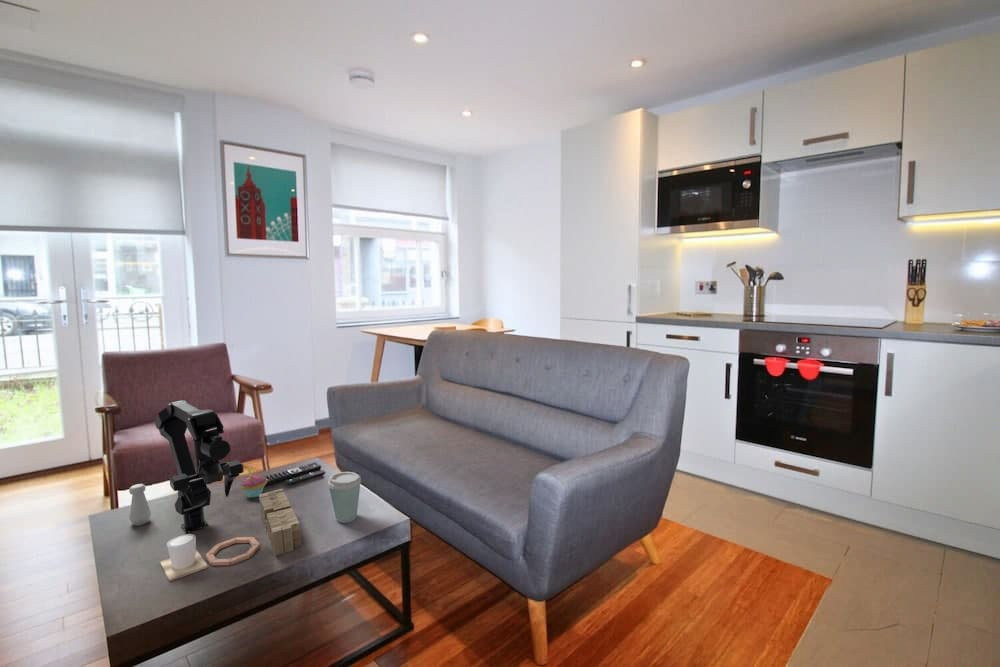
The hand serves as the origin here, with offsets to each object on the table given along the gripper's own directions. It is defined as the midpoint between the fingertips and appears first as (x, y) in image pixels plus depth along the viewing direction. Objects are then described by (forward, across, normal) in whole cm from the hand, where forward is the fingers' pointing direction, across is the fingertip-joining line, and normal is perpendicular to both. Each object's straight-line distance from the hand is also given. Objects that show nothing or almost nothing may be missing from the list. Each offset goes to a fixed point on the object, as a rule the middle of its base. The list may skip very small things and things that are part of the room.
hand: (210, 501), depth 150 cm
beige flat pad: (+12, -10, -9) cm, 18 cm away
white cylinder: (+12, -10, -9) cm, 18 cm away
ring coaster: (+12, +2, -12) cm, 17 cm away
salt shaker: (+13, -14, +30) cm, 35 cm away
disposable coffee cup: (+13, +35, -18) cm, 41 cm away
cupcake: (+13, +20, +24) cm, 34 cm away
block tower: (+13, +16, -9) cm, 23 cm away
